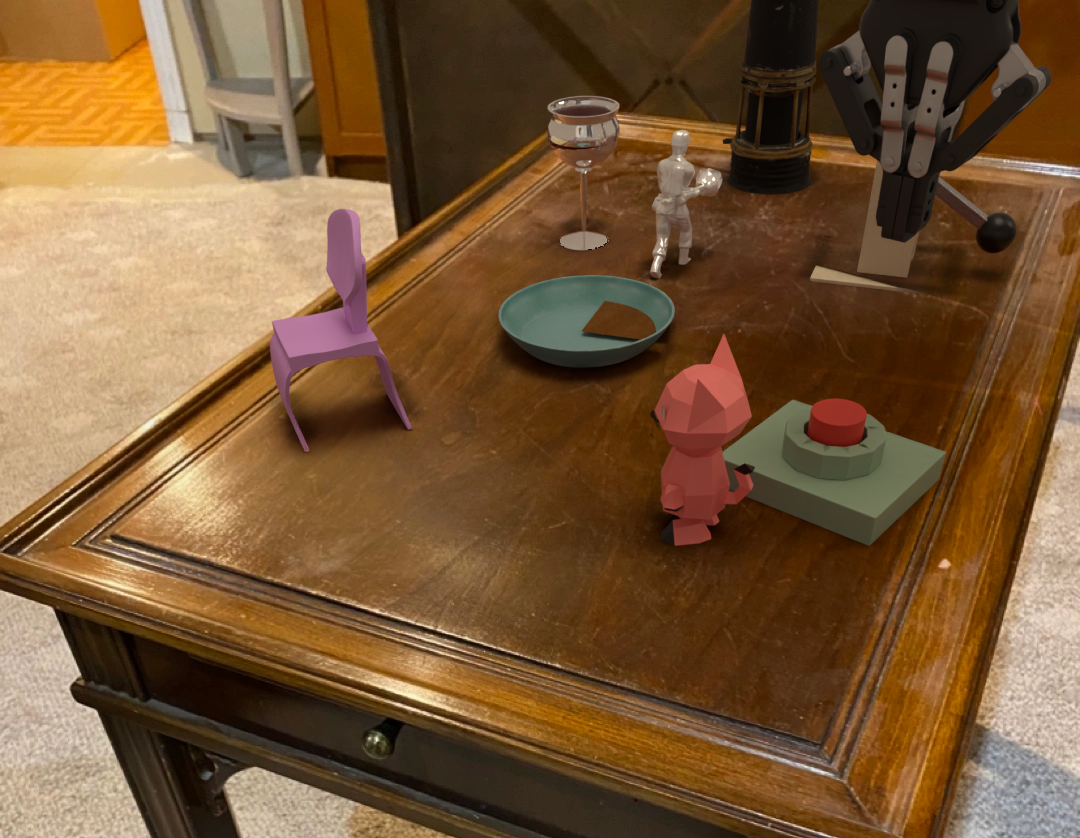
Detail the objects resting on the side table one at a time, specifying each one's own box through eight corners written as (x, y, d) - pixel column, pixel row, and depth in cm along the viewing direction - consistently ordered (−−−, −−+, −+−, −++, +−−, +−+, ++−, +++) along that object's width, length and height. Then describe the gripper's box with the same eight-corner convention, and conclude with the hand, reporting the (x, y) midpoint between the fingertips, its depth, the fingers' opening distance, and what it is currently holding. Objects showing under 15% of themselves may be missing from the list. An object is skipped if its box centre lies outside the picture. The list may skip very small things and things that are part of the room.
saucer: (633, 292, 96) (634, 262, 94) (701, 362, 86) (704, 330, 84) (479, 319, 93) (477, 289, 91) (531, 395, 83) (530, 363, 81)
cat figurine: (661, 489, 73) (671, 321, 64) (758, 507, 71) (782, 336, 62) (629, 546, 68) (636, 373, 60) (733, 567, 66) (755, 392, 58)
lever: (997, 252, 93) (1025, 222, 91) (994, 266, 91) (1024, 235, 88) (882, 161, 91) (908, 127, 89) (877, 173, 89) (904, 139, 87)
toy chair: (279, 409, 83) (234, 209, 72) (387, 387, 85) (359, 189, 74) (301, 461, 77) (255, 252, 66) (416, 435, 79) (390, 229, 68)
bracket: (955, 267, 98) (989, 127, 89) (945, 307, 92) (981, 161, 83) (825, 253, 101) (846, 116, 93) (808, 290, 95) (829, 148, 87)
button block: (939, 479, 73) (953, 427, 70) (869, 547, 67) (881, 493, 65) (788, 426, 78) (796, 375, 76) (713, 484, 73) (718, 432, 70)
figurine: (633, 287, 97) (638, 145, 88) (670, 251, 102) (678, 114, 94) (682, 295, 95) (692, 151, 87) (717, 258, 101) (729, 119, 92)
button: (871, 432, 70) (877, 409, 69) (845, 455, 69) (849, 431, 67) (824, 416, 72) (828, 392, 71) (796, 437, 70) (800, 414, 69)
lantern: (714, 178, 116) (742, -176, 95) (793, 170, 117) (838, -182, 96) (740, 207, 110) (776, -166, 89) (823, 198, 111) (878, -173, 90)
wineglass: (596, 258, 102) (597, 121, 93) (537, 246, 104) (532, 111, 96) (629, 234, 106) (633, 101, 97) (571, 223, 108) (570, 92, 100)
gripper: (1134, -135, 50) (1031, 239, 62) (879, -145, 56) (831, 196, 69) (1075, -110, 46) (978, 283, 58) (808, -124, 53) (771, 234, 65)
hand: (898, 235), depth 64 cm, fingers closed
